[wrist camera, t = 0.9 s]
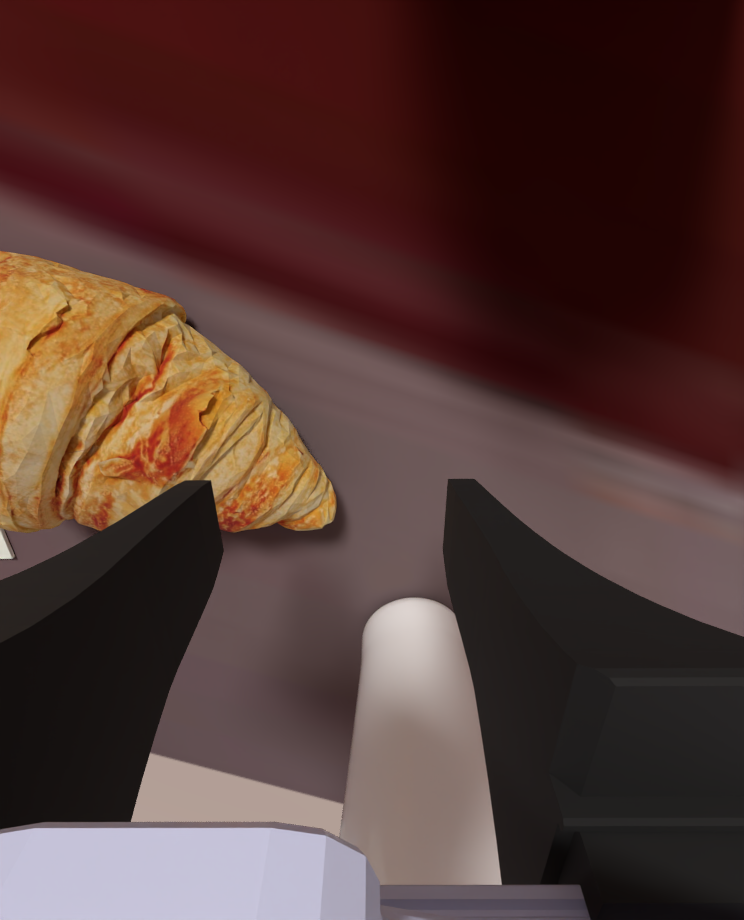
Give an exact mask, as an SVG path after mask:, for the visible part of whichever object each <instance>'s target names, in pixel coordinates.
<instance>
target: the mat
mask: <svg viewBox="0 0 744 920" xmlns="http://www.w3.org/2000/svg"><path fill="white" fill-rule="evenodd" d="M14 557H15V555H14V553H13V550H12V548H11V545H10V543H9V541H8V538H7V536H6V534H5V531H4V529H2V528H0V559H13V558H14Z"/></svg>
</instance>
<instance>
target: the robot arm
mask: <svg viewBox="0 0 744 920" xmlns="http://www.w3.org/2000/svg"><path fill="white" fill-rule="evenodd" d="M223 551H224V550H223V544H222V539H221V533H220V528H219V522H218V516H217V511H216V505H215V500H214V494H213V488H212V483H211V480H185V481H183V482H181V483H179V484H177V485H175V486H173V487H172V488H170V489H168V490H167V491H165V492H163V493H162V494H160V495H159V496H157V497H155V498H154V499H152V500H151V501H149V502H148V503H146V504H144V505H143V506H141V507H140V508H138V509H136V510H135V511H133V512H132V513H130V514H128V515H127V516H125V517H124V518H122V519H121V520H119V521H117V522H116V523H114V524H112V525H110V526H109V527H107V528H105V529H103V530H102V531H100V532H98V533H96V534H95V535H93V536H91V537H90V538H88V539H86V540H84V541H83V542H81V543H79V544H77V545H75V546H74V547H72V548H70V549H68V550H66V551H64V552H62V553H60V554H58V555H56V556H54V557H52V558H50V559H48V560H46V561H44V562H42V563H39V564H37V565H35V566H33V567H31V568H29V569H27V570H24V571H22V572H20V573H18V574H15V575H13V576H10V577H8V578H5V579H3V580H0V920H744V637H742V636H739V635H737V634H734V633H731V632H728V631H725V630H722V629H719V628H717V627H714V626H711V625H708V624H705V623H702V622H700V621H697V620H695V619H692V618H690V617H687V616H685V615H683V614H680V613H678V612H675V611H673V610H671V609H668V608H666V607H663V606H661V605H659V604H657V603H654V602H652V601H650V600H648V599H646V598H644V597H641V596H639V595H637V594H635V593H633V592H631V591H629V590H627V589H625V588H623V587H621V586H619V585H617V584H616V583H614V582H612V581H610V580H608V579H606V578H604V577H602V576H601V575H599V574H597V573H595V572H593V571H592V570H590V569H588V568H587V567H585V566H584V565H582V564H580V563H579V562H577V561H576V560H574V559H572V558H571V557H569V556H568V555H566V554H564V553H563V552H561V551H560V550H559V549H557V548H556V547H554V546H553V545H551V544H550V543H549V542H547V541H546V540H545V539H543V538H542V537H541V536H539V535H538V534H537V533H535V532H534V531H533V530H532V529H530V528H529V527H528V526H527V525H525V524H524V523H523V522H522V521H520V520H519V519H518V518H517V517H516V516H515V515H513V514H512V513H511V512H510V511H509V510H508V509H507V508H505V507H504V506H503V505H502V504H501V503H500V502H499V501H498V500H497V499H496V498H494V497H493V496H492V495H491V494H490V493H489V492H488V491H487V490H486V489H485V488H484V487H483V486H482V485H481V484H479V483H478V482H477V481H476V480H475V479H448V486H447V500H446V514H445V527H444V541H443V555H444V563H445V571H446V578H447V585H448V590H449V594H450V597H451V601H452V605H453V609H454V613H455V616H456V620H457V624H458V628H459V631H460V635H461V639H462V642H463V646H464V650H465V654H466V657H467V661H468V665H469V668H470V673H471V677H472V682H473V686H474V692H475V698H476V704H477V710H478V717H479V723H480V729H481V736H482V742H483V749H484V756H485V763H486V769H487V776H488V783H489V790H490V798H491V805H492V812H493V820H494V827H495V834H496V842H497V850H498V858H499V866H500V875H501V883H502V885H380V881H379V880H378V878H377V876H376V874H375V872H374V870H373V868H372V867H371V865H370V863H369V861H368V859H367V857H366V856H365V855H364V854H363V852H362V851H361V850H360V849H359V848H358V847H356V846H354V845H353V844H351V843H349V842H347V841H345V840H343V839H341V838H339V837H337V836H335V835H333V834H331V833H329V832H327V831H326V830H324V829H320V828H313V827H306V826H299V825H292V824H285V823H279V822H131V818H132V815H133V811H134V807H135V804H136V799H137V796H138V792H139V789H140V785H141V781H142V778H143V774H144V771H145V767H146V764H147V761H148V757H149V754H150V751H151V747H152V744H153V741H154V737H155V734H156V731H157V727H158V724H159V721H160V718H161V715H162V712H163V709H164V706H165V703H166V699H167V696H168V693H169V690H170V687H171V685H172V682H173V680H174V677H175V675H176V672H177V670H178V667H179V665H180V663H181V661H182V658H183V656H184V654H185V652H186V649H187V647H188V645H189V642H190V640H191V638H192V636H193V633H194V631H195V629H196V627H197V624H198V622H199V620H200V618H201V615H202V613H203V611H204V609H205V606H206V604H207V602H208V599H209V597H210V595H211V592H212V590H213V587H214V584H215V581H216V577H217V574H218V570H219V567H220V563H221V559H222V555H223Z"/></svg>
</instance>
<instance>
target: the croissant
mask: <svg viewBox="0 0 744 920" xmlns="http://www.w3.org/2000/svg"><path fill="white" fill-rule="evenodd" d="M185 322H186V313H185V310H184V308H183V307H182V306H181V305H180V304H179V303H177V302H176V300H175V299H172V298H170V297H168V296H166V295H162V294H159V293H156V292H152V291H149V290H145V289H141V288H137V287H133V286H132V285H129V284H127V283H124V282H121V281H118V280H114V279H110V278H106V277H102V276H99V275H95V274H91V273H87V272H83V271H80V270H78V269H75V268H73V267H69V266H66V265H63V264H60V263H57V262H53V261H49V260H45V259H42V258H39V257H35V256H29V255H23V254H17V253H10V252H4V251H0V528H2V529H5V530H10V531H16V532H25V533H30V532H36V531H39V530H41V529H51V528H54V527H56V526H59V525H60V524H61V523H62V522H63V521H64V520H71V519H75V520H76V521H77V522H78V523H79V524H82V525H85V526H89V527H92V528H95V529H97V530H99V531H102V530H103V529H105V528H107V527H109V526H110V525H112V524H114V523H116V522H117V521H119V520H121V519H122V518H124V517H125V516H127V515H128V514H130V513H132V512H133V511H135V510H136V509H138V508H140V507H141V506H143V505H144V504H146V503H148V502H149V501H151V500H152V499H154V498H155V497H157V496H159V495H160V494H162V493H163V492H165V491H167V490H168V489H170V488H172V487H173V486H175V485H177V484H179V483H181V482H183V481H185V480H211V483H212V488H213V494H214V500H215V505H216V511H217V516H218V522H219V528H220V530H224V531H228V532H239V531H243V530H247V529H257V528H260V527H268V526H270V525H272V524H274V523H276V522H277V523H278V524H280V525H282V526H283V527H285V528H288V529H292V530H296V531H306V530H315V529H322V528H323V527H324V525H327V524H329V523H331V522H332V521H333V520H334V517H335V513H336V495H335V493H334V490H333V487H332V484H331V481H330V480H329V479H328V478H326V475H325V473H324V471H323V469H322V468H321V466H320V464H318V463H317V462H316V461H315V460H314V458H313V457H312V456H311V454H310V453H309V451H308V450H307V448H306V447H305V445H304V444H303V442H302V441H301V439H300V437H299V435H298V433H297V431H296V429H295V428H294V426H293V425H292V423H291V422H290V420H289V419H288V418H287V417H286V415H285V414H284V413H283V412H281V411H280V410H279V409H278V408H277V407H276V406H275V405H274V404H273V403H272V400H271V398H270V396H269V394H268V393H267V392H266V391H265V390H264V389H263V388H262V387H261V386H259V385H258V384H257V382H256V381H255V380H254V379H253V378H252V376H251V375H250V374H249V373H248V372H247V371H246V370H245V369H244V368H243V367H242V366H241V365H240V364H239V363H237V362H236V361H234V360H233V359H231V358H230V357H229V356H227V355H226V354H225V353H223V352H222V351H221V350H220V349H219V348H218V347H217V346H216V345H214V344H213V343H212V342H210V341H209V340H208V339H206V338H205V337H204V336H202V335H201V334H200V333H198V332H197V331H196V330H194V329H193V328H192V327H190V326H189V325H187V324H185Z"/></svg>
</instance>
